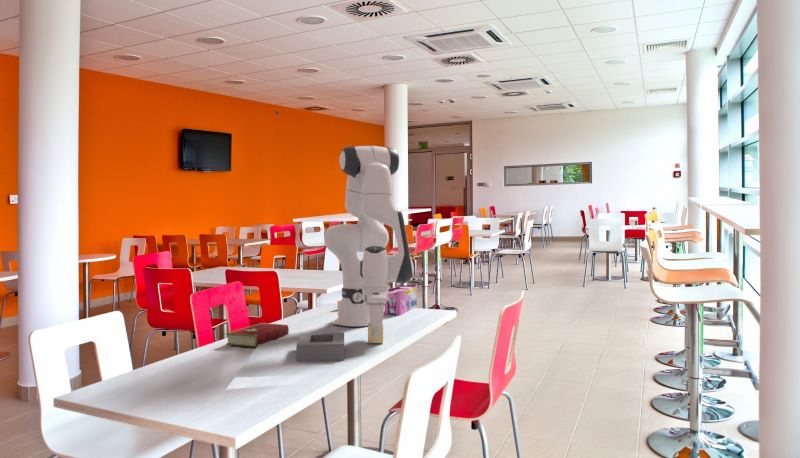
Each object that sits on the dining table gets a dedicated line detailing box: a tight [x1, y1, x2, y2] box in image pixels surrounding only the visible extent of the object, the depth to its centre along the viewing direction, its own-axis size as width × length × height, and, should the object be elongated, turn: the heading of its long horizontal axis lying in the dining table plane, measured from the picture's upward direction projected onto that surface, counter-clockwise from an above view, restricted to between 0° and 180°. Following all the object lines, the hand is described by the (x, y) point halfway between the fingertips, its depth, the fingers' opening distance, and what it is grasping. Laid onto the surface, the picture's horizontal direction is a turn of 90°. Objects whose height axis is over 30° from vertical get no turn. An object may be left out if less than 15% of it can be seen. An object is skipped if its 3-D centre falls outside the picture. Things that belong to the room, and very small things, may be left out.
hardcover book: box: [225, 322, 290, 348], centre depth 208 cm, size 12×21×4 cm, turn 160°
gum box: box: [383, 284, 418, 316], centre depth 252 cm, size 22×7×13 cm, turn 158°
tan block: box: [367, 322, 384, 344], centre depth 198 cm, size 4×5×6 cm
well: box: [295, 331, 345, 363], centre depth 183 cm, size 18×14×5 cm
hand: (375, 335), depth 198 cm, fingers closed on tan block, 4 cm apart
